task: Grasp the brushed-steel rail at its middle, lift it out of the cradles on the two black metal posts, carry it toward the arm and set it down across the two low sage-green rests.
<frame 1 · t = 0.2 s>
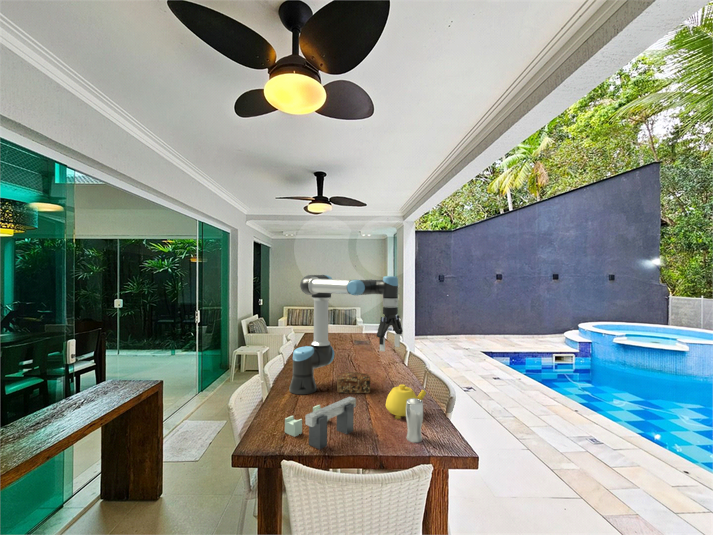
hand: (389, 348, 176), 28 cm above the table, fingers open, 13 cm apart
post a: (317, 445, 133), on the table
rest a: (293, 432, 143), on the table
rail: (332, 414, 140), point 9 cm above the table, touching post a, post b
post b: (344, 430, 146), on the table
bread: (353, 391, 197), on the table
rest b: (320, 420, 156), on the table
teapot: (406, 414, 164), on the table
beer glass: (414, 439, 139), on the table
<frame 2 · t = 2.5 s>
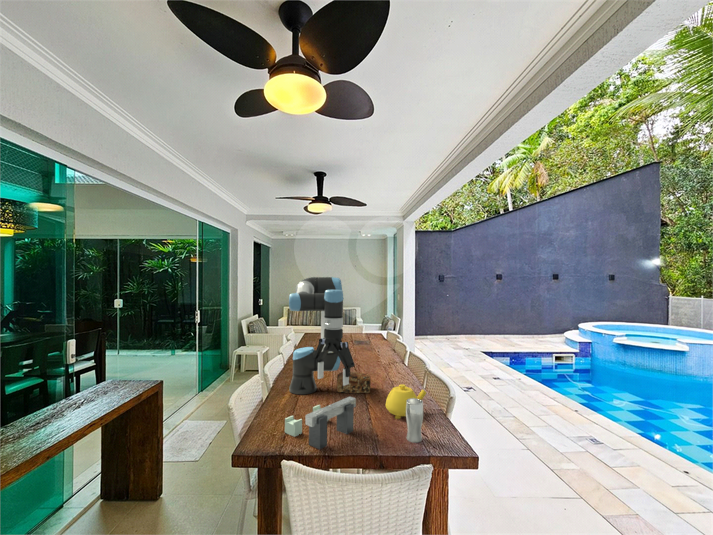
hand: (332, 381, 140), 22 cm above the table, fingers open, 13 cm apart
nothing on the table moved.
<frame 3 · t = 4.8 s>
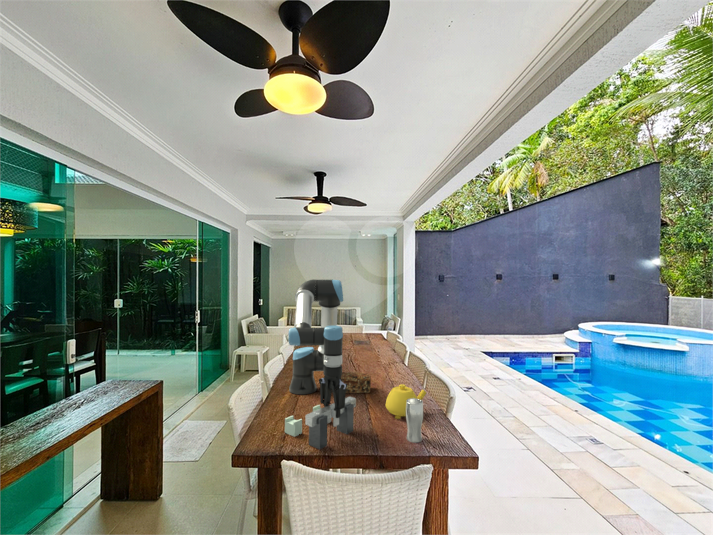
hand: (332, 423, 140), 5 cm above the table, fingers closed on rail, 3 cm apart
rail: (332, 414, 140), point 9 cm above the table, touching gripper, post a, post b
everything else where it was.
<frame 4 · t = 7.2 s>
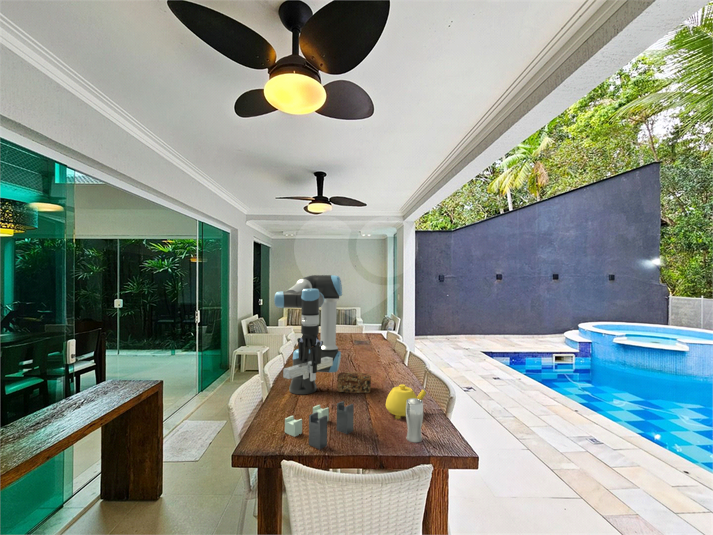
hand: (309, 379, 150), 20 cm above the table, fingers closed on rail, 3 cm apart
rail: (309, 371, 150), point 24 cm above the table, touching gripper
everything else where it was.
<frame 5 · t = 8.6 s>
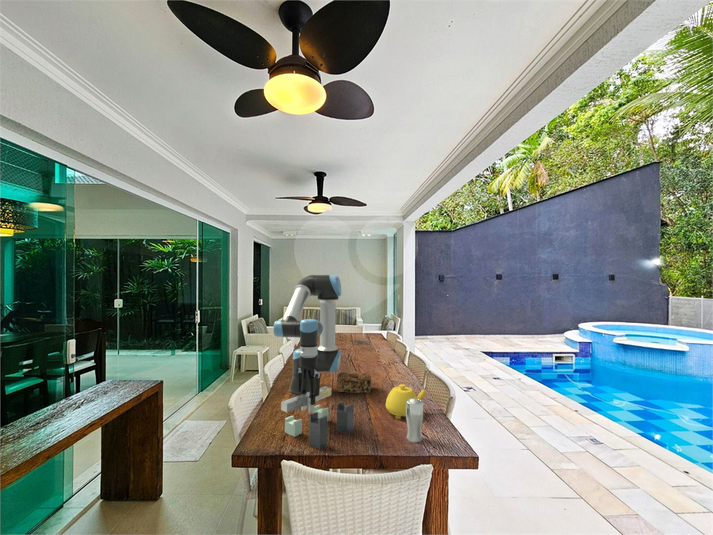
hand: (307, 410, 150), 7 cm above the table, fingers closed on rail, 3 cm apart
rail: (307, 402, 150), point 10 cm above the table, touching gripper
everything else where it was.
when the fingers open (2 cm above the table, at t = 9.9 s): rail stays where it is, resting on rest a, rest b.
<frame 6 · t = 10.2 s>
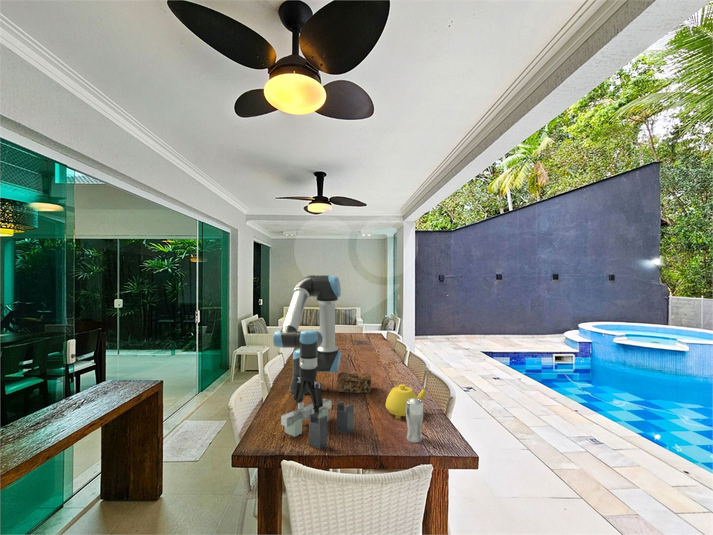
hand: (307, 420, 150), 3 cm above the table, fingers open, 8 cm apart
rail: (307, 415, 150), point 4 cm above the table, touching rest a, rest b
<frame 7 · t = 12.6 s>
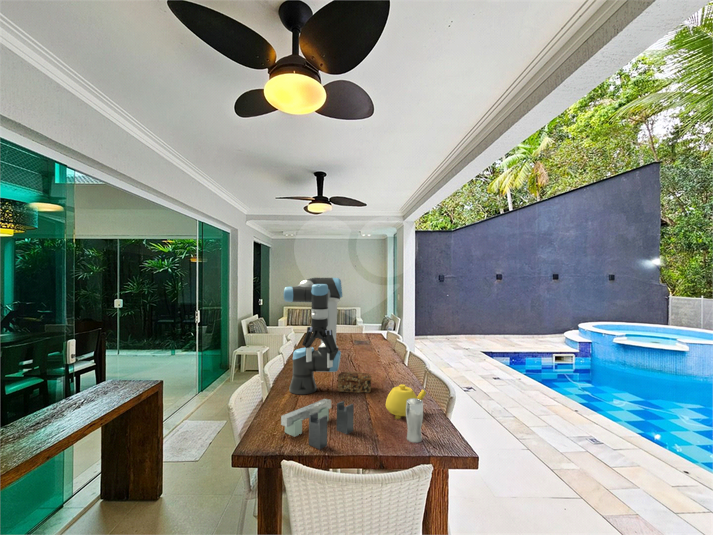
hand: (319, 364, 160), 24 cm above the table, fingers open, 13 cm apart
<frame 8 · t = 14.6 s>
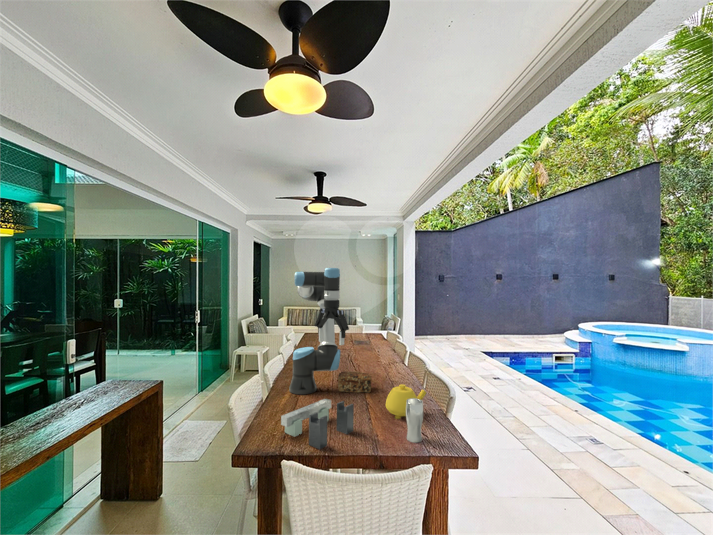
hand: (331, 343, 170), 32 cm above the table, fingers open, 13 cm apart
at the end: rail inside the target area (0.0 cm from its centre), point 4.5 cm above the table; rail tilted 0°; the gripper is holding nothing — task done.
